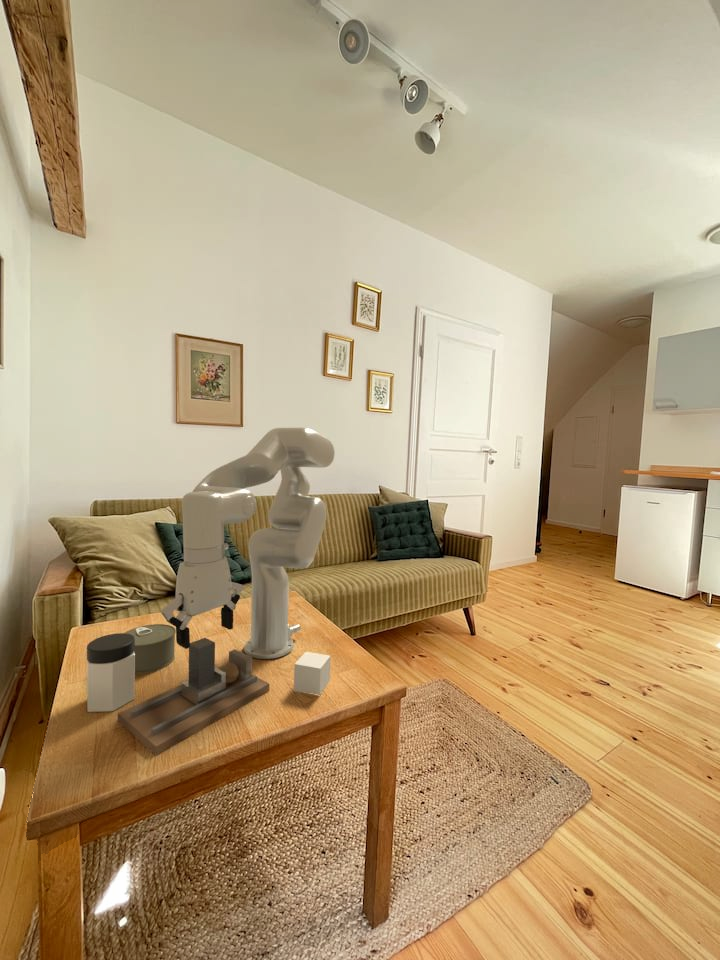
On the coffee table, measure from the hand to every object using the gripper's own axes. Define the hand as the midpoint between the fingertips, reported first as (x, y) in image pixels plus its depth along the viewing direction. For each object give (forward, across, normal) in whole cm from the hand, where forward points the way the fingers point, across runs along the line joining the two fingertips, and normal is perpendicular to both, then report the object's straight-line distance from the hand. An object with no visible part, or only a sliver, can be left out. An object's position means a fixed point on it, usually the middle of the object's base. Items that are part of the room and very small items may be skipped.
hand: (206, 636), depth 79 cm
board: (+13, +2, +1) cm, 13 cm away
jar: (+13, +12, -14) cm, 23 cm away
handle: (+11, +1, +1) cm, 11 cm away
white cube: (+14, -16, +14) cm, 26 cm away
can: (+14, 0, -24) cm, 28 cm away
